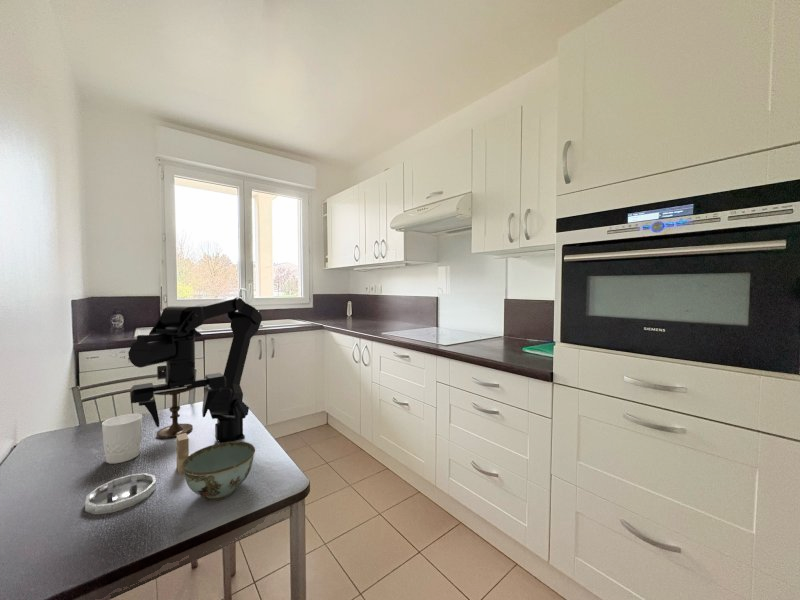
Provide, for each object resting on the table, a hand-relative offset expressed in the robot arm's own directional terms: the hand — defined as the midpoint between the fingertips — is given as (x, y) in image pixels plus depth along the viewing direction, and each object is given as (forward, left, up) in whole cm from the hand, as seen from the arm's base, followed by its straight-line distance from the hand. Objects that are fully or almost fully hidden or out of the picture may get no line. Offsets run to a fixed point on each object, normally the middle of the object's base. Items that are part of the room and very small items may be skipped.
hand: (181, 421), depth 76 cm
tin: (+11, +4, -12) cm, 17 cm away
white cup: (+11, -17, -12) cm, 23 cm away
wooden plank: (0, 0, -12) cm, 12 cm away
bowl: (-5, +16, -12) cm, 21 cm away
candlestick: (-1, -26, -12) cm, 28 cm away
